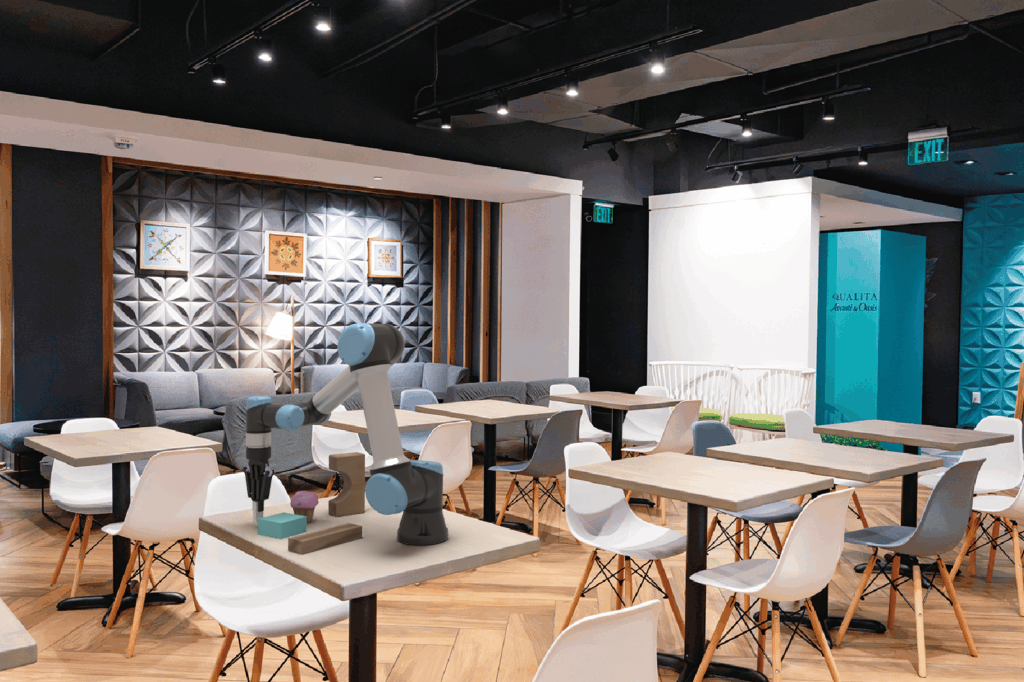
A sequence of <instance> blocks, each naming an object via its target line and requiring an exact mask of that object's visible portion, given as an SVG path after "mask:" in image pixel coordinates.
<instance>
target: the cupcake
mask: <svg viewBox="0 0 1024 682" xmlns="http://www.w3.org/2000/svg"><path fill="white" fill-rule="evenodd" d="M289 503H290V508H292V510H293V514H296V515H301V516H307V524H308V523H309V522H311V521H312V520H313V519H314V514H315V509H316V506H318V505H319V503H320V502H319V497H318V495H317V493H316V492H314V491H309V490H308V491H307V490H298V491H296V492H295V494H294V495H293V496H292V497H291V500H290V502H289Z"/></svg>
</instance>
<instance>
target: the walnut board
mask: <svg viewBox="0 0 1024 682" xmlns="http://www.w3.org/2000/svg"><path fill="white" fill-rule="evenodd" d="M362 538H363V525H360V524H355V523H352V522H351V523H350V522H346V523H343V524H338V525H335V526H331V527H326V528H322V529H319V530H315V531H311V532H305V533H301V534H298V535H294V536H291V537H287V551H288V550H289V551H288V552H291V551H292V553H296V554H299V555H305V554H309V553H312V552H315V551H319V550H322V549H327V548H331V547H334V546H337V545H342V544H345V543H347V542H351V541H355V540H359V539H362Z"/></svg>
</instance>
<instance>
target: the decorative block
mask: <svg viewBox="0 0 1024 682" xmlns="http://www.w3.org/2000/svg"><path fill="white" fill-rule="evenodd" d="M328 470H330V471H333V472H338V473H339V474H340V475H341V477H342V478H343V487H342V489H341V491H340V493H339V494H338V495H337V496H335V497H334V498H331V499H329V500H328V502H327V503H328V505H327V506H328V507H327V508H328V509H327V511H328V515H329V514H330V516H333V517H335V518H339V517H344V516H345V515H346V516H351V515H352V514H353V515H359V514H364V513H365V512H366V509H365V508H366V505H365V504H366V503H365V502H366V500H365V499H366V494H365V487H366V454H365V453H363V452H358V451H356V452H355V451H354V452H353V451H352V452H344V453H343V452H342V453H334V454H333V453H332V454H329V455H328ZM346 516H345V517H346Z"/></svg>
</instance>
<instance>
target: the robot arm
mask: <svg viewBox="0 0 1024 682" xmlns="http://www.w3.org/2000/svg"><path fill="white" fill-rule="evenodd" d="M405 345H406V342H405V338H404V335H403V334H402V332H401V331H400V330H399V329H398V327H395V326H394V325H392V324H387V323H369V322H368V323H367V322H361V323H354V324H352V323H351V324H350V325H348V326H347V327H345V328H344V329H343V330H342V332H341V335H339V338H338V341H337V353H338V356H339V359H340V360H341V361H342V362H343V363H344V364H346V365H347V367H345V368H344V369H343V370H342V371H340V372H339V374H337V375H336V376H335V377H334V378H333V379H331V380H330V381H329V382H328V383H327V384H326V385H325V386H323V388H321V389H320V390H319V391H318V392H316V394H314V395H313V396H312V397H311V398H309V399H308V400H307V401H304V402H303V401H302V402H295V403H285V404H284V403H282V404H281V403H279V404H278V403H273V402H272V397H271V396H268V395H267V396H266V395H265V396H262V395H261V396H260V395H258V396H255V395H254V396H250V397H248V398H247V399H246V405H245V416H246V417H245V427H246V429H245V446H246V448H245V459H246V460H248V462H247V466H242V467H243V468H242V471H243V473H244V478H245V485H246V492H247V498H248V499H251V501H252V523H255V524H258V519H259V518H263V517H264V511H265V501H266V500H269V499H270V495H271V488H272V482H273V476H274V475H275V470H274V469H271V468H270V463H269V459H271V458H272V447H271V444H272V429H277V430H285V431H293V430H294V431H295V430H298V429H299V428H301V427H306V426H309V427H310V426H319V425H321V424H324V423H327V422H328V421H329V420H330V419H331V416H332V412H333V411H334V410H336V409H337V408H338V407H339V406H340V405H342V404H343V403H344V402H345V401H346V400H347V399H349V398H350V397H351V396H352V395H353V394H354V393H356V392H357V391H358V390H359V394H360V400H361V405H362V410H363V414H364V415H363V416H364V419H365V425H366V430H367V435H368V439H369V445H370V450H371V455H372V461H373V462H372V464H371V465H370V467H369V474H370V478H368V480H367V481H366V483H367V484H365V499H366V500H367V502H368V504H369V506H370V508H372V510H374V511H376V512H377V514H380V515H382V516H383V515H384V516H390V515H398V514H401V513H402V516H401V519H400V522H399V525H398V529H397V531H396V540H397V541H398V542H399V543H402V544H404V545H405V544H406V545H410V546H413V545H414V546H427V545H428V546H429V545H436V544H441V543H444V542H446V541H447V540H449V529H448V527H447V523H446V521H445V516H444V512H443V509H444V508H443V503H444V502H443V501H444V500H443V498H444V497H443V496H444V470H443V469H444V467H443V464H442V463H441V462H439V461H433V460H432V461H431V460H420V459H410V458H408V457H407V456H406V455H405V454H404V449H403V446H402V445H403V444H402V439H401V434H400V429H399V425H398V420H397V414H396V409H395V405H394V399H393V395H392V394H393V393H392V390H391V385H390V379H389V375H388V373H389V370H390V368H391V367H392V366H394V364H396V363H397V362H398V361H399V360H400V358H401V357H402V356H403V354H404V351H405Z"/></svg>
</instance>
